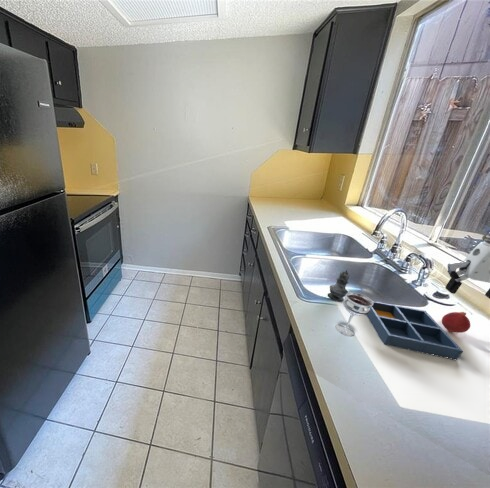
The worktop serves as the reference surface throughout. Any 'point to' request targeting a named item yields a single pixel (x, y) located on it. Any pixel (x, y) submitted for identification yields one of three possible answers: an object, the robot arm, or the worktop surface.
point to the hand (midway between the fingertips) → (469, 294)
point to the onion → (456, 322)
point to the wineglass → (354, 309)
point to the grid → (411, 330)
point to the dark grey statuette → (339, 287)
